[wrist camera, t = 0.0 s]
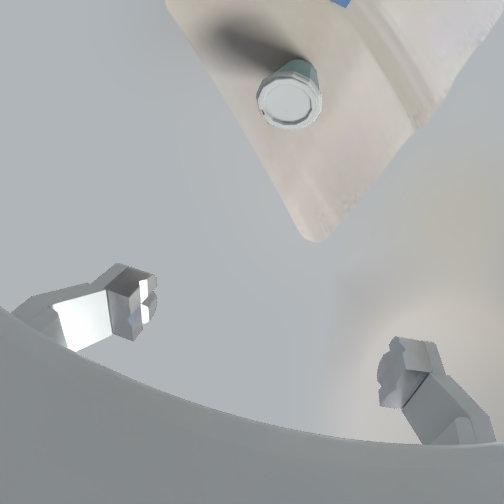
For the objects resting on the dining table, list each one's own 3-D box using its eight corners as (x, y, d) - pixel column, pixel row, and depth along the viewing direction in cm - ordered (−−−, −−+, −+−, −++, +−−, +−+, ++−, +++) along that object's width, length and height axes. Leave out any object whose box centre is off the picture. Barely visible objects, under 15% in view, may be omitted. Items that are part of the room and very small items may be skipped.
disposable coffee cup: (316, 44, 45) (307, 67, 37) (335, 92, 53) (330, 128, 44) (265, 58, 51) (242, 86, 42) (286, 103, 58) (269, 140, 49)
